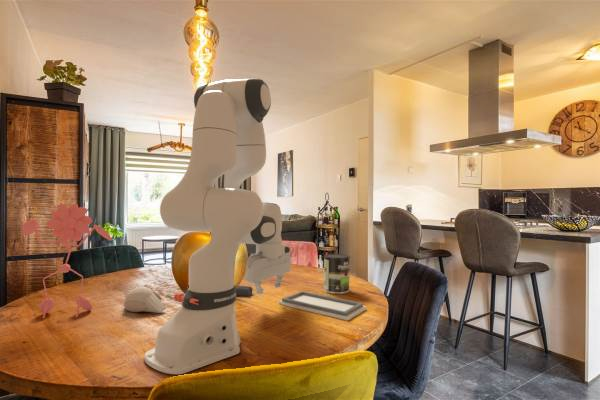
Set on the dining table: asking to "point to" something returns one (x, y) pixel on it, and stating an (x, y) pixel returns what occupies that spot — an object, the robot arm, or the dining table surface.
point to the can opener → (243, 290)
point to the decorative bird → (143, 300)
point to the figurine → (66, 227)
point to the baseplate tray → (324, 305)
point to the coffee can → (336, 273)
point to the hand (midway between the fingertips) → (269, 290)
